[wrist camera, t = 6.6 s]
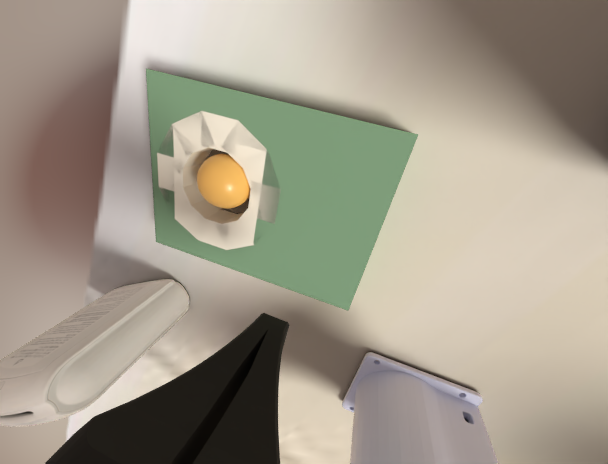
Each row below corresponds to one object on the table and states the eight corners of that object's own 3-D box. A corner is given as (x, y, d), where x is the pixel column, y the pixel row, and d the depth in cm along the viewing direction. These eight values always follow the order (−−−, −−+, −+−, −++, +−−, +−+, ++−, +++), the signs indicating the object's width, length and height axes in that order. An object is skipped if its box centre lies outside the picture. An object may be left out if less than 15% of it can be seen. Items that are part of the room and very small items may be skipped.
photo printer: (131, 316, 29) (-21, 434, 18) (111, 285, 27) (-66, 392, 16) (198, 308, 25) (61, 450, 14) (179, 272, 24) (11, 398, 13)
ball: (222, 146, 18) (265, 172, 18) (200, 190, 18) (243, 214, 19) (203, 138, 14) (258, 171, 15) (177, 192, 15) (230, 222, 15)
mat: (412, 133, 14) (418, 134, 12) (350, 292, 20) (348, 310, 18) (173, 75, 17) (145, 68, 15) (175, 231, 22) (156, 241, 20)
